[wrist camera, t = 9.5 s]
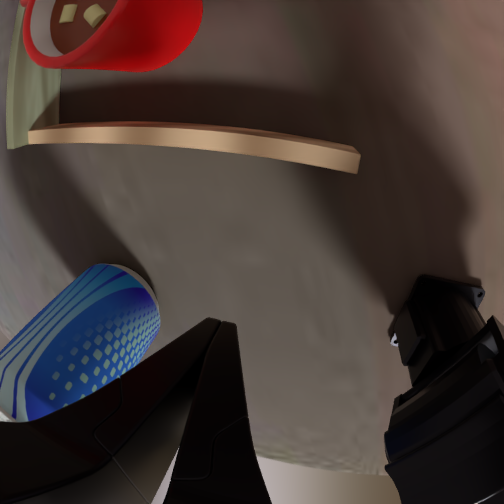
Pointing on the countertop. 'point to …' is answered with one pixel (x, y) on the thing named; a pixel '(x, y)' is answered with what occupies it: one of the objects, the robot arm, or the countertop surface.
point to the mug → (109, 32)
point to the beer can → (78, 342)
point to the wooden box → (142, 123)
